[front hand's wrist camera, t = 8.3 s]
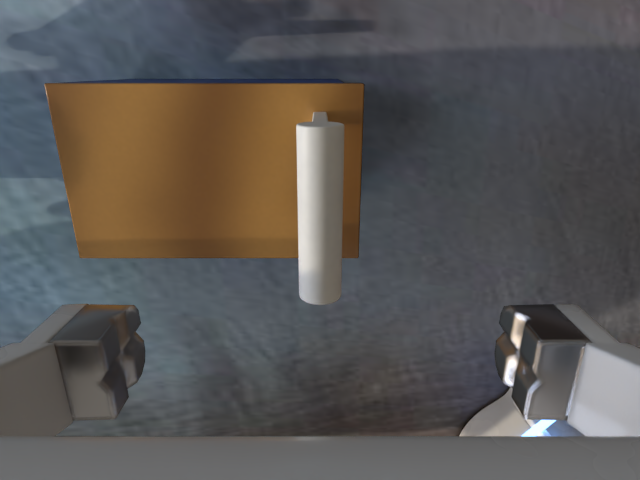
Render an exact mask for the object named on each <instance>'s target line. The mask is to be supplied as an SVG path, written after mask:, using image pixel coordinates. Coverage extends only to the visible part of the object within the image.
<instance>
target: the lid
mask: <svg viewBox="0 0 640 480" xmlns="http://www.w3.org/2000/svg"><path fill="white" fill-rule="evenodd" d="M44 85H45V90H46V95H47V100H48V105H49V110H50V115H51V119H52V124H53V129H54V134H55V139H56V144H57V149H58V154H59V158H60V163H61V168H62V173H63V178H64V183H65V188H66V193H67V197H68V202H69V207H70V212H71V217H72V222H73V227H74V232H75V237H76V241H77V246H78V251H79V256H80V258H299V296H300V298H301V299H302V300H303V301H305V302H307V303H310V304H315V305H325V304H331V303H333V302H336V301H337V300H338V299H339V298H340V297H341V274H342V258H358V257H359V228H360V198H361V169H362V139H363V109H364V84H363V83H45V84H44Z"/></svg>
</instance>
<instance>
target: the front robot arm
mask: <svg viewBox="0 0 640 480" xmlns="http://www.w3.org/2000/svg"><path fill="white" fill-rule="evenodd" d="M140 324H141V321H140V316H139V311H138V309H137V308H136V307H135V306H134V305H97V304H90V305H89V304H68V305H62V306H61V307H60V308H59V309H57V310H56V311H55V312H54V313H53V314H52V315H51V316H50V317H49V318H47V319H46V320H45V321H44V322H43V323H42V324H41V325H40V326H38V327H37V328H36V329H35V330H34V331H33V332H32V333H31V334H30V335H28V336H27V337H26V338H25V339H24V340H23V341H22V342H21V343H11V344H9V345H6V346H4V347H1V348H0V480H640V348H639V347H636V346H634V345H631V344H629V343H619V342H618V341H617V340H616V339H615V338H614V337H613V336H612V335H610V334H609V333H608V332H607V331H606V330H605V329H604V328H603V327H602V326H600V325H599V324H598V323H597V322H596V321H595V320H594V319H593V318H592V317H590V316H589V315H588V314H587V313H586V312H585V311H584V310H583V309H582V308H580V307H579V306H578V305H575V304H556V305H554V304H543V305H508V306H504V307H503V309H502V312H501V315H500V321H499V324H500V325H501V327H502V329H503V330H504V333H503V334H502V335H501V336H500V337H499V338H498V339H497V340H496V346H495V363H496V368H497V371H498V374H499V376H500V378H501V380H502V382H503V383H504V384H506V385H508V386H509V387H511V388H510V389H509V390H508V391H507V393H506V394H505V395H504V396H502V397H501V398H500V399H498V400H497V401H495V402H493V403H492V404H490V405H488V406H487V407H485V408H484V409H482V410H481V411H480V412H478V413H477V414H476V415H475V416H474V417H473V418H472V419H471V420H470V421H469V422H468V423H467V424H466V426H465V427H464V428H463V430H462V432H461V433H460V435H459V436H56V435H57V434H58V433H60V432H61V431H62V430H64V429H65V428H66V427H68V426H69V425H70V424H72V423H73V420H109V419H116V417H117V416H118V414H119V412H120V411H121V409H122V407H123V406H124V404H125V402H126V401H127V399H128V397H129V396H128V390H127V389H128V388H129V387H131V386H132V385H134V384H136V383H137V382H138V380H139V378H140V376H141V374H142V372H143V367H144V363H145V346H144V340H143V339H142V338H141V337H140V336H139V335H138V334H137V333H136V330H137V329H138V327H139V325H140Z"/></svg>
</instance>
